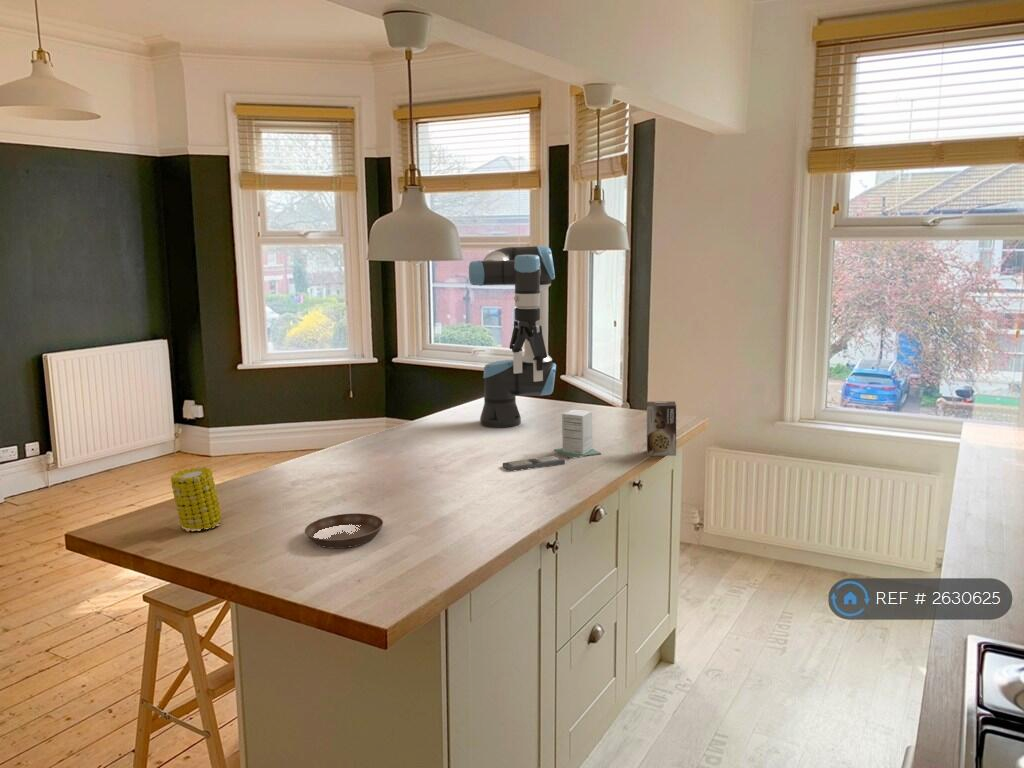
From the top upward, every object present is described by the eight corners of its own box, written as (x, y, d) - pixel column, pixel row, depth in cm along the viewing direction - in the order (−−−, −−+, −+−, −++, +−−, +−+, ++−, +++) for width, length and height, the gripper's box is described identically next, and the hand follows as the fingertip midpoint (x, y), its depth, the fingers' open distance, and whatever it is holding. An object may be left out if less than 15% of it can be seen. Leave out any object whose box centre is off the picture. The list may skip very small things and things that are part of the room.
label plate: (502, 466, 235) (502, 462, 234) (556, 459, 241) (556, 454, 241) (509, 471, 230) (509, 466, 229) (564, 463, 236) (564, 459, 236)
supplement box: (572, 447, 254) (572, 409, 252) (593, 449, 250) (592, 411, 248) (561, 452, 248) (561, 413, 246) (582, 455, 244) (582, 415, 242)
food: (222, 536, 187) (177, 543, 185) (224, 510, 197) (181, 516, 195) (212, 480, 181) (165, 487, 178) (215, 457, 191) (170, 463, 189)
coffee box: (675, 451, 248) (676, 401, 246) (676, 456, 242) (677, 405, 239) (646, 450, 250) (646, 400, 247) (646, 455, 243) (646, 404, 241)
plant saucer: (291, 538, 181) (290, 526, 180) (356, 519, 193) (355, 507, 192) (332, 559, 168) (331, 545, 168) (399, 536, 181) (398, 524, 180)
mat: (554, 450, 252) (554, 449, 252) (584, 446, 256) (584, 445, 256) (569, 458, 242) (569, 457, 242) (601, 454, 246) (601, 453, 246)
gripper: (498, 303, 243) (499, 371, 248) (535, 312, 221) (535, 385, 226) (520, 302, 246) (520, 368, 251) (558, 310, 224) (558, 383, 229)
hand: (527, 377), depth 238 cm, fingers open, 13 cm apart
